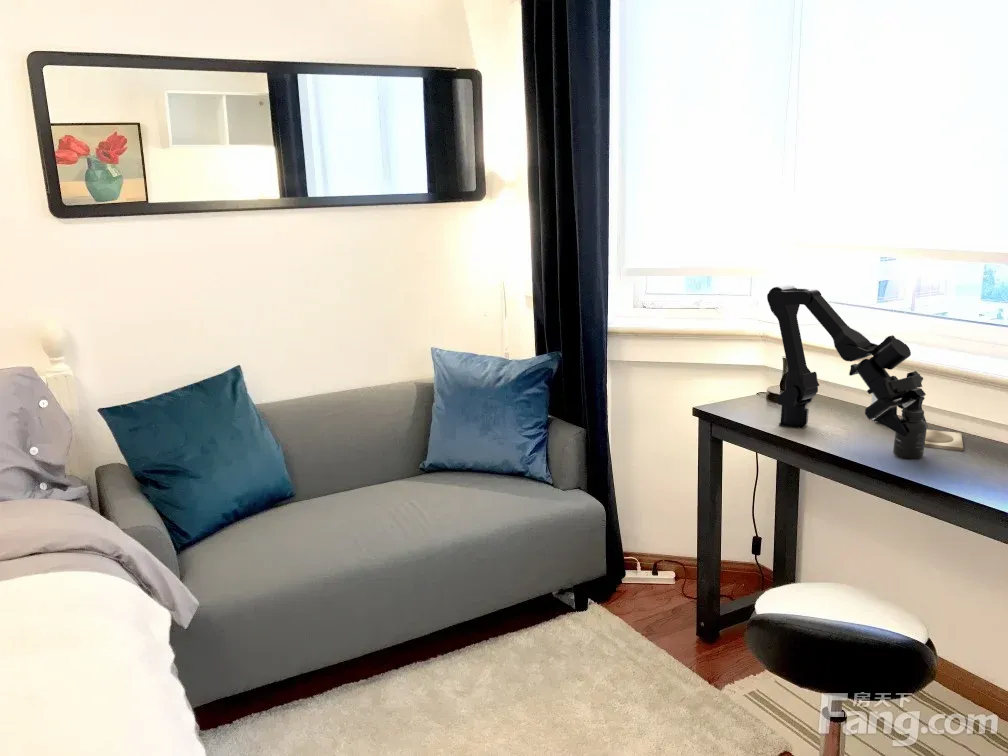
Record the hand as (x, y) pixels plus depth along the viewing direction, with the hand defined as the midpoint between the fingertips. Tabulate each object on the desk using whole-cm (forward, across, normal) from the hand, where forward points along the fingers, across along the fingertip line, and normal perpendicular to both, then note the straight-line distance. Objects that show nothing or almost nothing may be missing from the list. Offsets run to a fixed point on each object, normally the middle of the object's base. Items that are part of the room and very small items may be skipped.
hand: (916, 432), depth 196 cm
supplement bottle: (+4, 0, +6) cm, 7 cm away
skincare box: (-11, +22, +20) cm, 32 cm away
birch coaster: (+2, +17, +7) cm, 18 cm away
